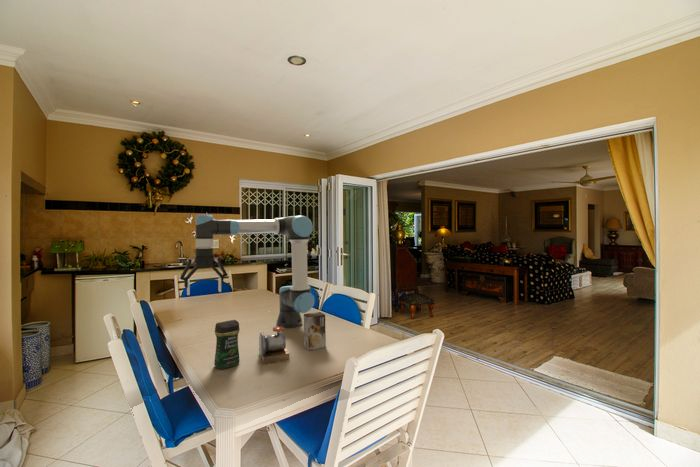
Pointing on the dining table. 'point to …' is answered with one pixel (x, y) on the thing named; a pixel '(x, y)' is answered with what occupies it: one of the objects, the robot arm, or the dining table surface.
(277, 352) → the valve stub
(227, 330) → the coffee jar
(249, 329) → the dining table surface
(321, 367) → the dining table surface
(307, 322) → the coffee box
